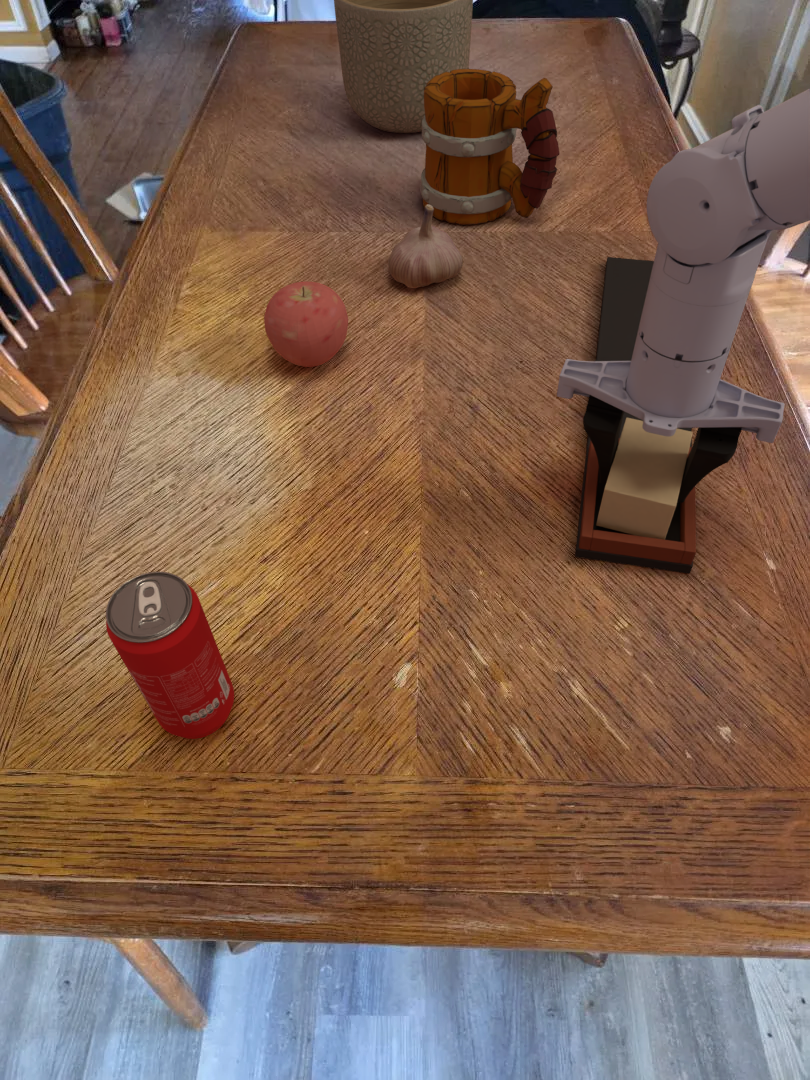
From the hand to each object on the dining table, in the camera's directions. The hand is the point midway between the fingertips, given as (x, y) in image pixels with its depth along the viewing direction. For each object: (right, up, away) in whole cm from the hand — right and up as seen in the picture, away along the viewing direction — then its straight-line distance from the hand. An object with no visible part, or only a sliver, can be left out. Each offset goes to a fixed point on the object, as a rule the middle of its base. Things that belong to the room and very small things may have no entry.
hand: (642, 483), depth 61 cm
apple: (-27, +13, +16) cm, 34 cm away
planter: (-18, +53, +48) cm, 74 cm away
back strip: (+3, +9, +11) cm, 15 cm away
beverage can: (-32, -16, -7) cm, 36 cm away
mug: (-9, +34, +33) cm, 48 cm away
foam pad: (0, -1, +1) cm, 1 cm away
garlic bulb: (-16, +23, +24) cm, 37 cm away
